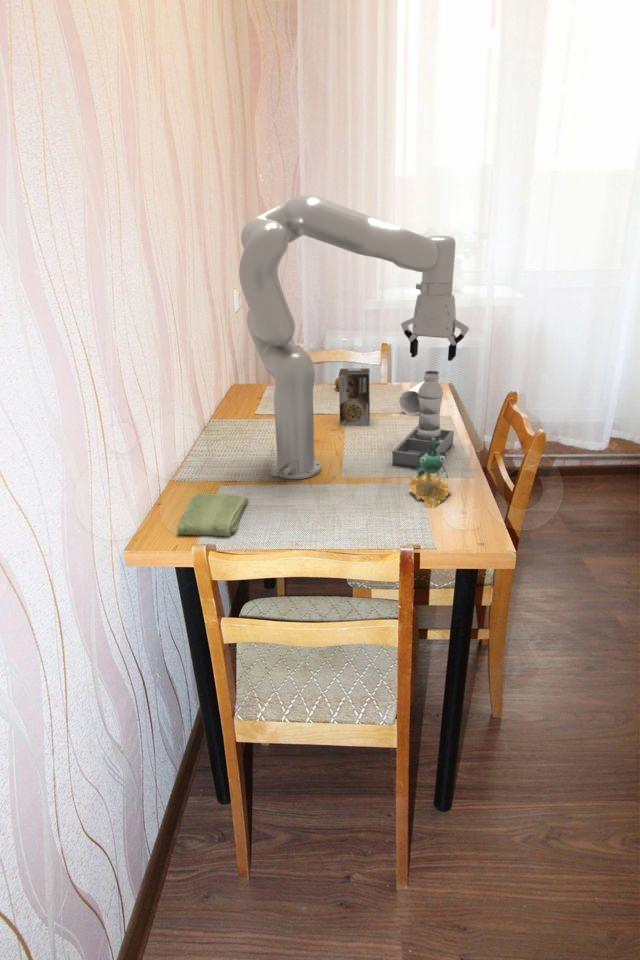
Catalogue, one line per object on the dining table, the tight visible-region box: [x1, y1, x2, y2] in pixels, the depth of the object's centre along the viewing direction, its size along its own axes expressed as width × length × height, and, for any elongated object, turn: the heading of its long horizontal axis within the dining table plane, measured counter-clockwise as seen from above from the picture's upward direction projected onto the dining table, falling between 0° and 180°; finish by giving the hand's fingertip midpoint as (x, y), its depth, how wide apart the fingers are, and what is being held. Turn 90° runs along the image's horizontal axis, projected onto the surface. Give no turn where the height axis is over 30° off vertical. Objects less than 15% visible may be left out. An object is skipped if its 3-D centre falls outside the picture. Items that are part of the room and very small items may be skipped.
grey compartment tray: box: [391, 425, 455, 471], centre depth 172 cm, size 20×11×4 cm, turn 155°
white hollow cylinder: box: [398, 380, 425, 416], centre depth 208 cm, size 8×19×8 cm, turn 149°
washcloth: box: [177, 492, 249, 537], centre depth 143 cm, size 13×18×3 cm
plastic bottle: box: [416, 370, 444, 442], centre depth 173 cm, size 6×7×20 cm
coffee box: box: [338, 368, 371, 427], centre depth 194 cm, size 9×6×16 cm
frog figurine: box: [409, 438, 452, 509], centre depth 150 cm, size 10×18×15 cm, turn 173°
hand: (432, 358), depth 167 cm, fingers open, 9 cm apart
